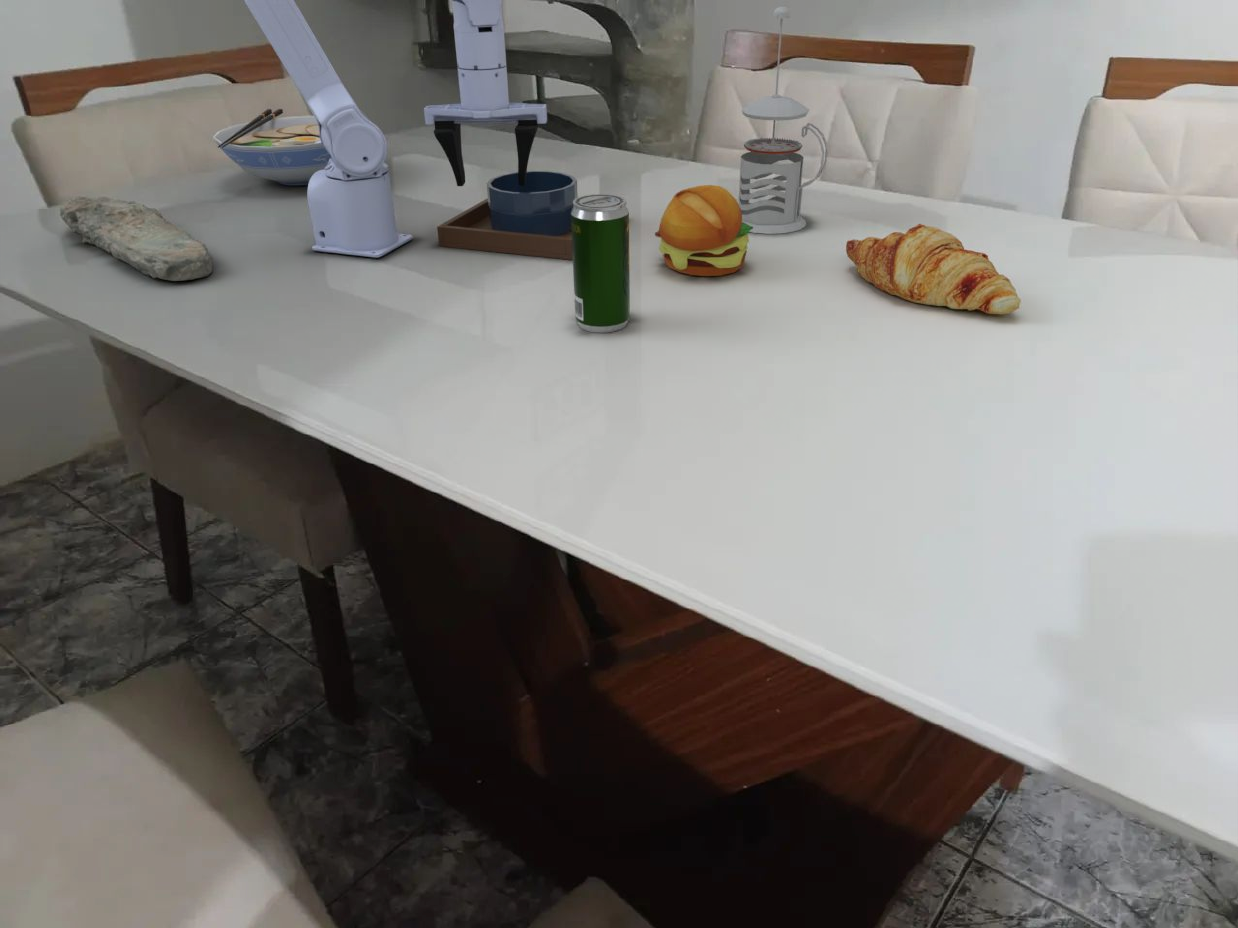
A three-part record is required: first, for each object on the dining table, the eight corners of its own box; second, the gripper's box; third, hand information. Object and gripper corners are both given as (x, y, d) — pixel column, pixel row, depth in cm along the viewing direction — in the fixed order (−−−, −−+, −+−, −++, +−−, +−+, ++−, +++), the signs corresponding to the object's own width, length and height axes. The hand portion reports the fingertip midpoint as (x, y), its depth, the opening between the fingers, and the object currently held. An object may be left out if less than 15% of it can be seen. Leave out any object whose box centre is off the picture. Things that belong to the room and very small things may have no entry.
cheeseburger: (763, 254, 108) (763, 175, 101) (732, 306, 102) (731, 224, 95) (681, 243, 112) (676, 165, 105) (647, 292, 105) (639, 212, 98)
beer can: (594, 338, 89) (590, 213, 82) (565, 320, 93) (559, 199, 86) (640, 325, 91) (640, 203, 85) (610, 309, 95) (608, 190, 89)
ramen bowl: (356, 201, 132) (347, 141, 127) (196, 203, 132) (181, 143, 128) (395, 160, 153) (388, 107, 149) (257, 162, 153) (246, 109, 149)
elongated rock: (151, 305, 101) (240, 287, 108) (141, 258, 99) (233, 242, 105) (45, 224, 122) (124, 212, 128) (34, 183, 119) (116, 173, 126)
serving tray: (438, 246, 114) (436, 226, 112) (499, 209, 127) (498, 191, 126) (572, 260, 108) (571, 240, 107) (621, 220, 122) (620, 202, 120)
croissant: (1023, 346, 94) (1061, 270, 92) (982, 325, 87) (1022, 242, 85) (856, 286, 108) (885, 219, 106) (808, 263, 101) (839, 192, 99)
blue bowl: (481, 237, 114) (477, 192, 111) (502, 212, 124) (498, 170, 121) (569, 240, 113) (567, 194, 110) (584, 214, 122) (582, 171, 120)
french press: (744, 208, 126) (755, 2, 113) (829, 218, 121) (850, 4, 108) (718, 228, 118) (727, 9, 105) (807, 239, 114) (828, 12, 101)
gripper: (413, 72, 106) (427, 193, 113) (540, 71, 106) (547, 191, 113) (425, 63, 112) (438, 178, 119) (546, 62, 112) (551, 177, 119)
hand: (491, 184), depth 116 cm, fingers open, 7 cm apart
